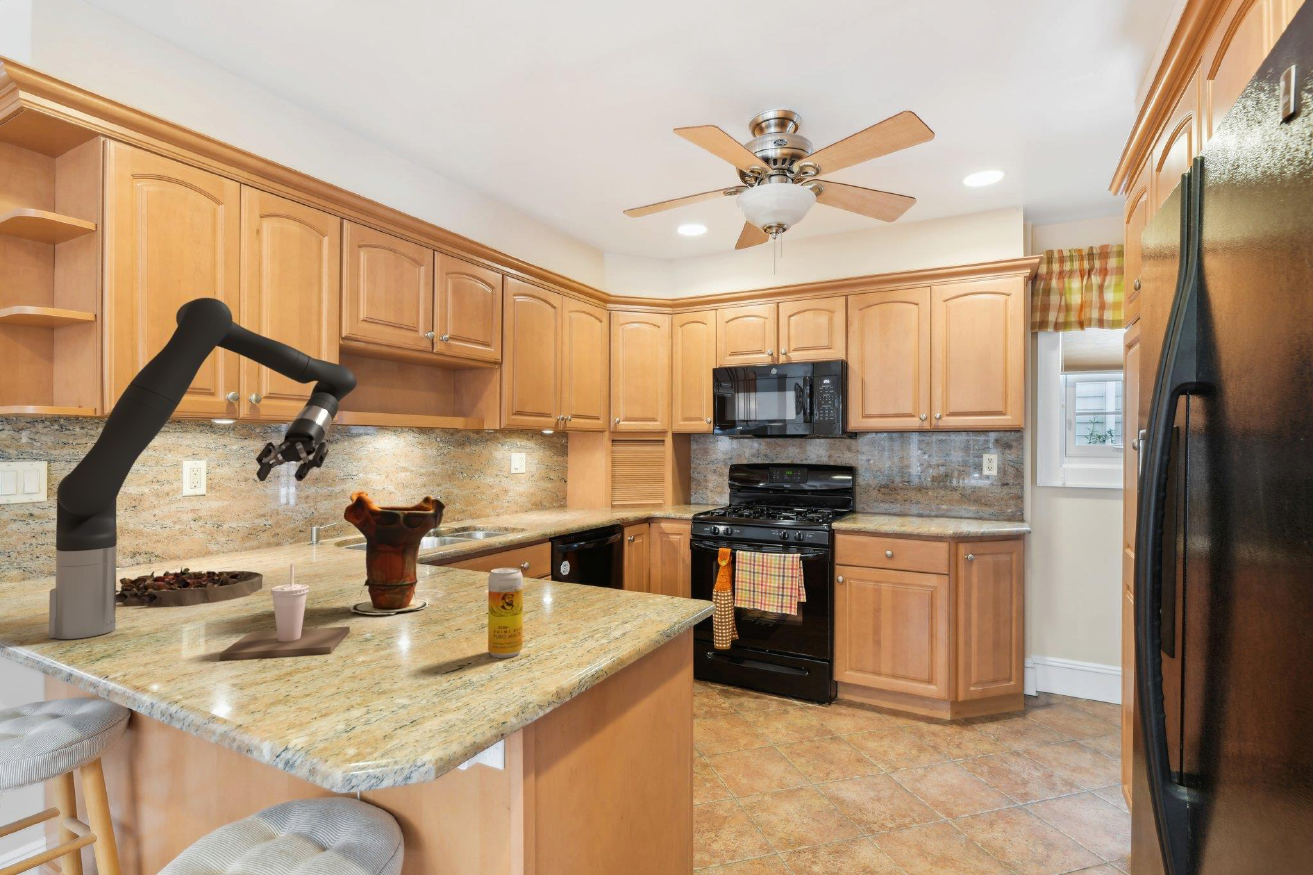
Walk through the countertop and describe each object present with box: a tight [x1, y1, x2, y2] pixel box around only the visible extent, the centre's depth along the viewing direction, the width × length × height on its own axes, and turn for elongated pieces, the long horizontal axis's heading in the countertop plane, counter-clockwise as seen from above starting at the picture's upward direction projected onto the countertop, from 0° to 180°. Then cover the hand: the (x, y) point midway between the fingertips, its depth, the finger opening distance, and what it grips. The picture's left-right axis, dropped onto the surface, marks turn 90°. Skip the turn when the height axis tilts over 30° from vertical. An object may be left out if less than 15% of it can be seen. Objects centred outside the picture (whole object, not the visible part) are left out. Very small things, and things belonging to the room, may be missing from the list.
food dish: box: [116, 566, 264, 608], centre depth 169 cm, size 35×33×8 cm
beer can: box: [487, 567, 524, 659], centre depth 118 cm, size 6×6×15 cm
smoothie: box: [270, 563, 310, 641], centre depth 123 cm, size 6×6×14 cm
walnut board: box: [218, 626, 351, 661], centre depth 123 cm, size 18×14×1 cm
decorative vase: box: [343, 490, 446, 615], centre depth 153 cm, size 20×22×27 cm
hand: (278, 478), depth 144 cm, fingers open, 8 cm apart
